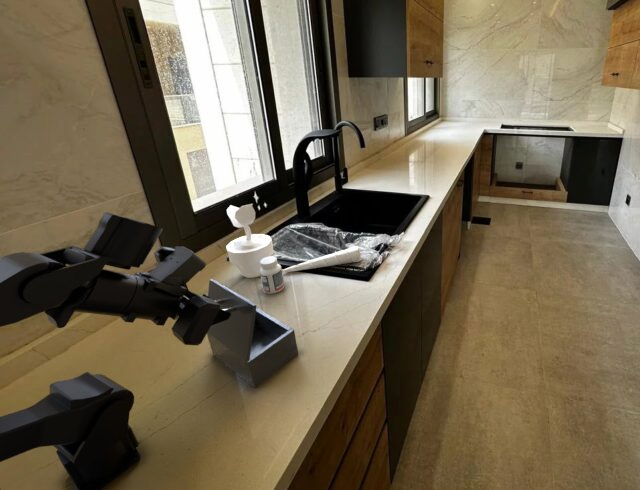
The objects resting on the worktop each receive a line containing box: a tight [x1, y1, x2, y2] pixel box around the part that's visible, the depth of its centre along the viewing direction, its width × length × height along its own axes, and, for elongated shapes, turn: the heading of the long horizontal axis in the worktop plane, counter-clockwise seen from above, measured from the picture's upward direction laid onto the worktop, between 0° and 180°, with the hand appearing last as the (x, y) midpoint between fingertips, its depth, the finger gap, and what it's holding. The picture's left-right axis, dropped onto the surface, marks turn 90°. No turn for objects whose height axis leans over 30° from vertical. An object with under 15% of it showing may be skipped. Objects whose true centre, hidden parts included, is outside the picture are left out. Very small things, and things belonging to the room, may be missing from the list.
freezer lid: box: [207, 278, 258, 362], centre depth 59 cm, size 10×15×4 cm
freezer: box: [206, 307, 299, 389], centre depth 66 cm, size 10×15×6 cm, turn 58°
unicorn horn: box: [282, 245, 362, 273], centre depth 98 cm, size 5×24×5 cm, turn 106°
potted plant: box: [226, 192, 275, 279], centre depth 91 cm, size 13×12×25 cm
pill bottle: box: [259, 255, 286, 295], centre depth 87 cm, size 5×5×9 cm
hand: (221, 310), depth 59 cm, fingers closed on freezer lid, 5 cm apart
